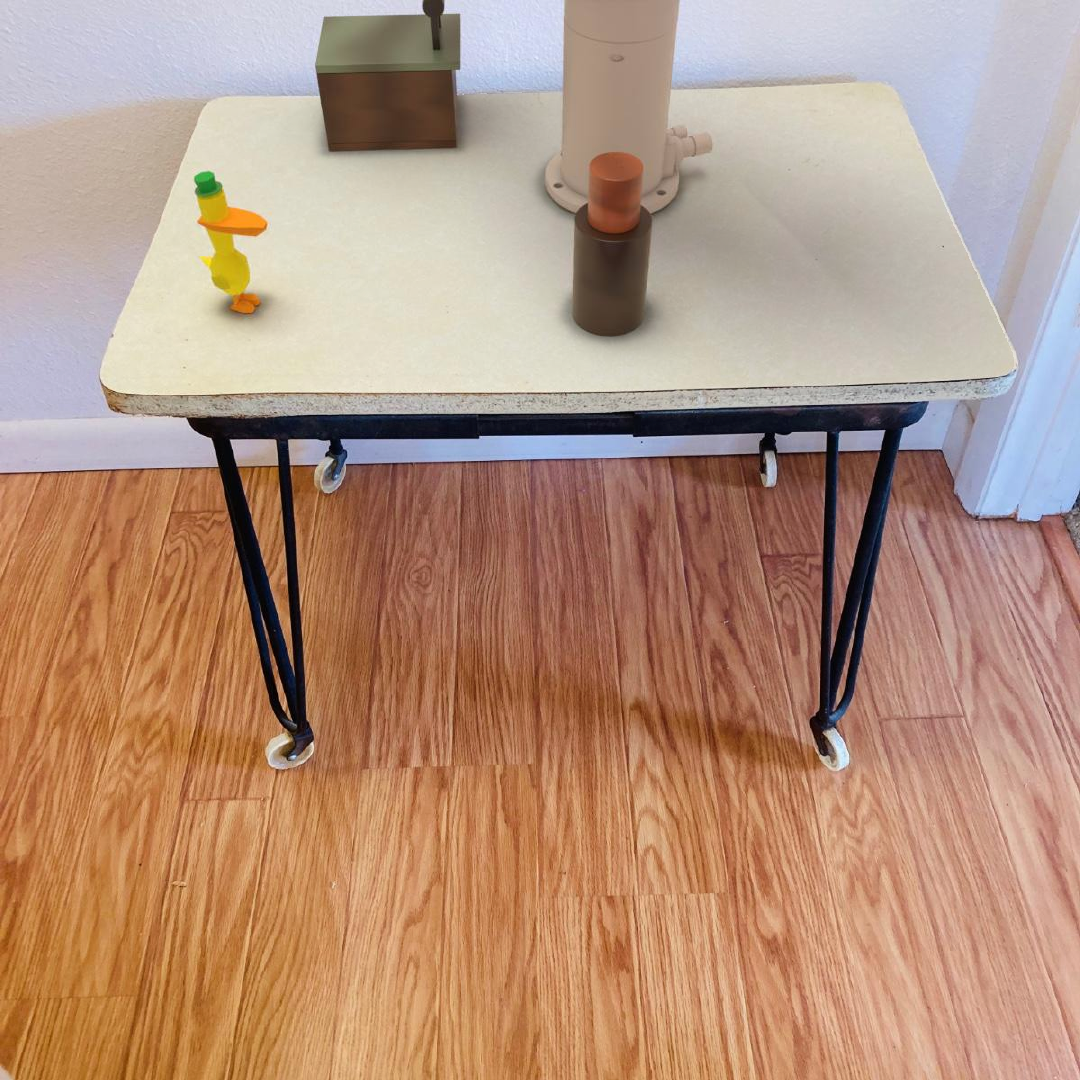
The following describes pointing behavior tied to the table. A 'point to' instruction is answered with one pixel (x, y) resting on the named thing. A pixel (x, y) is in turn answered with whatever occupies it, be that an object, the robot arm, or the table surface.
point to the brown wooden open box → (389, 109)
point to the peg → (614, 192)
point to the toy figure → (227, 240)
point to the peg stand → (610, 275)
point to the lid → (391, 42)
